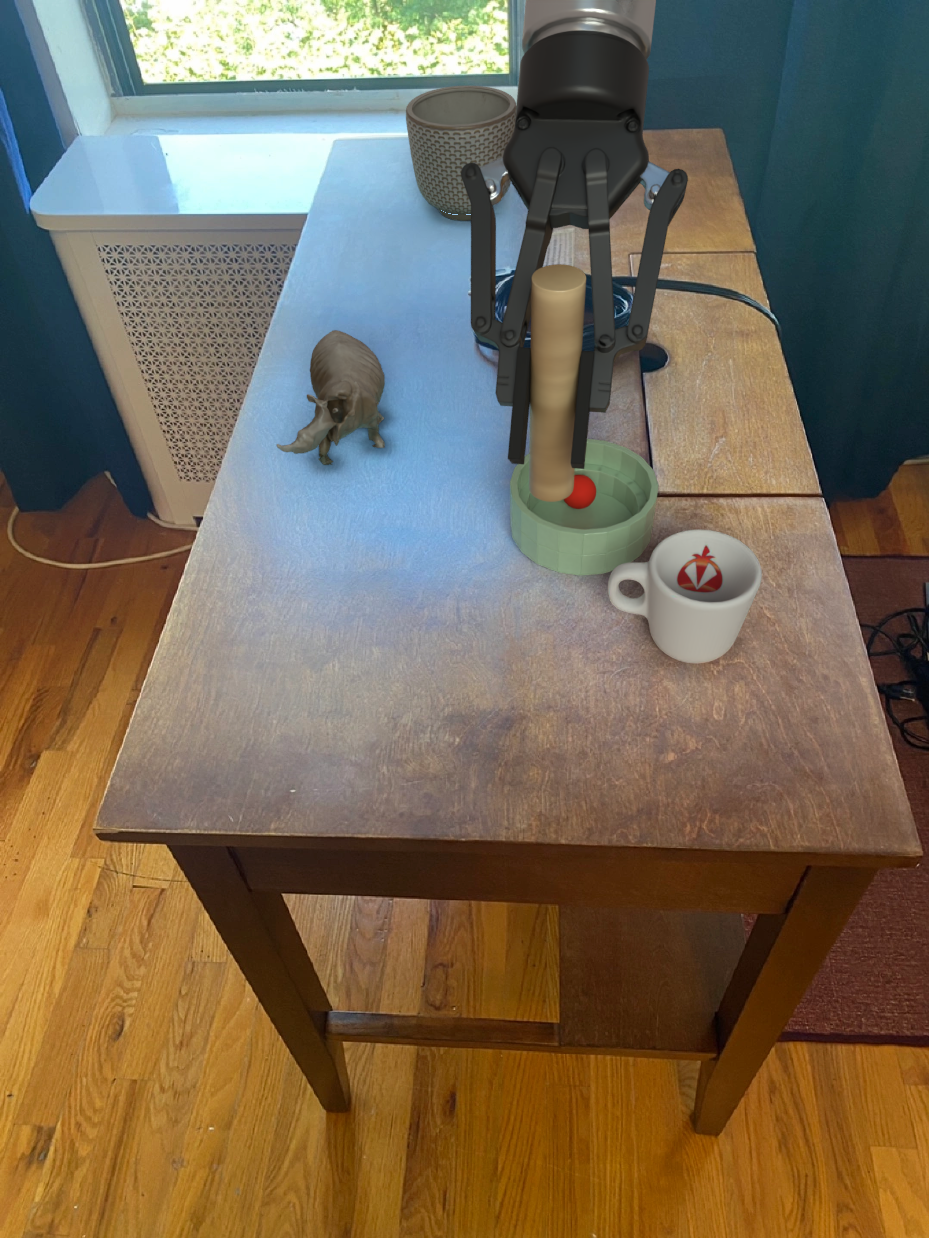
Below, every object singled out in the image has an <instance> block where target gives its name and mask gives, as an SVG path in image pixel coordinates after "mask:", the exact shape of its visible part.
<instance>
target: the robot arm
mask: <svg viewBox="0 0 929 1238" xmlns="http://www.w3.org/2000/svg"><path fill="white" fill-rule="evenodd" d="M656 4H657V0H525V4H524V15H523V28H522V40H521V49H522V52H523V56H522V57H521V59H520V64H519V70H518V71H519V72H518V85H517V94H516V116H515V127H514V132H513V135H512V137H511V139H510V141H509V142H508V144H507V145H506V147H505V149H504V153H503V157H502V158H499V159H497V160H495V161H493V162H490V163H488V164H486V165H484V166H481V167H479V166H478V165H477V164H475V163H467V164H466V165H465V166H464V167H463V168H462V171H461V178H462V180H463V183H464V186H465V189H466V192H467V194H468V197H469V200H470V203H471V220H470V328H472V331H473V333H474V334H475V336H476V338H477V339H478V341H480V342H481V343H487V344H488V345H491V346H493V347H495V348H496V349H498V359H497V360H498V362H497V371H496V384H495V396H496V400H497V403H498V404H499V405H500V406H501V407H511V418H510V427H509V439H508V450H507V460H508V461H509V462H510V463H511V464H513V465H518V464H524V460H525V456H526V448H527V440H528V439H527V437H528V426H529V418H530V355H531V347H526V346H525V342H526V338H527V334H528V329H529V325H530V323H531V279H532V275H533V273H534V272H535V271H536V270H538V269H540V268H542V267H544V263H545V260H546V256H547V252H548V248H549V246H550V243H551V241H552V236H553V232H554V229H560V228H564V227H567V226H572V227H576V228H579V229H581V230H588V244H589V245H588V247H589V261H590V262H589V265H590V283H591V284H590V285H591V305H592V319H593V320H592V322H593V340H594V346H593V350H582V351H581V359H580V369H579V380H578V390H577V401H576V411H575V421H574V432H573V442H572V452H571V467H572V468H578V469H584V466H585V456H586V446H587V439H588V434H589V425H590V413H602V414H605V413H607V411H608V409H609V407H610V404H611V394H612V384H613V375H614V374H613V373H614V364H615V362H616V360H617V358H618V357H620V356H621V355H623V354H626V353H630V352H638V351H641V350H643V349H644V348H645V346H646V343H647V341H648V340H647V339H648V334H649V330H650V325H651V324H650V323H651V318H652V313H653V307H654V304H655V303H654V302H655V298H656V292H657V287H658V282H659V277H660V271H661V266H662V261H663V255H664V251H665V246H666V240H667V234H668V229H669V226H670V224H671V223H672V221H673V219H674V218H675V215H676V214H677V212H678V210H679V208H680V207H681V206H682V203H683V201H684V199H685V196H686V191H687V186H688V183H689V176H688V173H687V172H686V171H685V170H684V169H681V168H674V169H672V170H671V171H668V170H666V169H664V168H663V167H661V166H659V165H657V164H655V163H653V162H651V161H650V154H649V150H648V148H647V146H646V144H645V141H644V125H645V116H646V115H645V114H646V105H647V95H648V86H649V75H650V74H649V73H650V65H649V61H648V59H649V57H650V55H651V50H652V42H653V32H654V23H655V15H656V13H655V12H656ZM509 179H510V181H511V184H512V186H513V187H514V189H515V191H516V193H517V195H518V196H519V197H520V200H521V201H522V203H523V204H524V206H525V208H526V210H527V214H526V219H525V227H524V232H523V237H522V241H521V244H520V248H519V252H518V258H517V262H516V266H515V269H514V273H513V278H512V282H511V286H510V290H509V295H508V299H507V303H506V307H505V311H504V315H503V319H502V321H500V320H498V319H496V317H497V315H496V314H497V313H496V312H497V311H496V310H497V309H496V308H497V307H496V306H497V305H496V303H497V302H496V301H497V300H496V299H497V297H496V295H497V289H496V288H497V219H496V213H495V209H494V206H496V205H498V204H499V203H500V202H501V201H502V199H503V198H502V196H503V193H502V188H503V185H504V183H505V182H506V181H507V180H509ZM640 185H641V186H642V187H643V188H644V193H643V205H644V207H645V208H646V209H647V210H648V211H649V213H648V217H647V222H646V227H645V234H644V238H643V243H642V247H641V248H642V249H641V252H640V253H641V254H640V259H639V264H638V270H637V275H636V281H635V286H634V292H633V296H632V302H631V306H630V311H629V318H628V323H627V325H624V326H621V327H617V328H616V323H615V322H616V321H615V303H614V302H615V301H614V282H613V265H612V245H611V222H610V220H611V219H612V218H613V216H614V215H615V214H616V213H617V212H618V210H619V209H620V208H621V207H622V206H623V204H624V203H625V202H626V201H627V200H628V198H630V196H632V193H634V191H635V190H636V189H637V188H638V186H640ZM524 346H525V347H524Z"/></svg>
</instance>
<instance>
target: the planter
mask: <svg viewBox="0 0 929 1238" xmlns="http://www.w3.org/2000/svg"><path fill="white" fill-rule="evenodd" d="M516 105H517V101H516V100H515V98H514V97H513V96H512V94H509V93H508V92H506V91H504V90H501V89H498V88H496V87H495V88H494V87H490V86H483V85H454V86H452V85H451V86H446V87H445V86H444V87H441V88H435V89H432V90H429V91H425V92H423V93H420V94H419V95H417V96H415V97H414V98H413V99H411V100H410V101H409V102H408V104H407V105H406V107H405V108H406V110H405V123H406V130H407V131H406V132H407V136H408V144H409V151H410V156H411V162H412V169H413V172H414V177H415V182H416V185H417V189H418V190H419V192H420V194H421V196H422V198H423V199H424V200H425V201H426V202H427V203H428V204H429V205H430V206H432V207H434V208H435V209H437V210H438V211H439V213H440V214H441V215H442V216H443V217H445V218H446V219H449V220H453V221H462V222H464V221H465V222H466V221H467V222H468V221H471V215H466V214H471V203H470V200H469V197H468V194H467V192H466V189H465V186H464V183H463V180H462V178H461V171H462V168H463V167H464V166H465V165H466V164H467V163H475V164H477V165H478V166H479V167H481V166H484V165H486V164H488V163H490V162H493V161H495V160H497V159H499V158H502V157H503V153H504V149H505V147H506V145H507V144H508V142H509V141H510V139H511V137H512V135H513V132H514V127H515V116H516ZM511 184H512V182H511V181H510V179H509V180H507V181H506V182H505V183H504V185H503V188H502V193H503V196H502V199H503V198H504V197H505V196H506V194H507V193H508V191H509V189H510V186H511ZM441 210H442V211H441ZM443 211H444V212H443ZM445 212H446V213H445ZM448 213H451V214H448ZM452 214H458V215H452Z"/></svg>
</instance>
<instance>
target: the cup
mask: <svg viewBox="0 0 929 1238" xmlns="http://www.w3.org/2000/svg"><path fill="white" fill-rule="evenodd" d="M649 557H650V558H649V561H645V562H641V561H640V562H638V561H637V562H636V561H632V562H629V563H624V564H620V565H618V566H617V567H616V568H614V570H613V571H610V572H611V573H610V575H609V577H608V582H607V595H608V600H609V601H610V603H611V605H613V607H614V608H616V609H617V610H619V611H621V612H624V613H628V614H632V615H633V614H634V615H640V616H642V617H644V618H646V619H647V622H648V628H649V632H650V633H649V634H650V636H651V638H652V640H653V642H654V643H655V645H656V647H657V648H658V649H659V650H660V651H662V653H664V654H665V655H666V656H668V657H669V658H672V659H673V660H676V661H679V662H682V663H687V664H704V663H711V662H712V661H715V660H717V659H719V658H721V657H723V656H724V655H725V654H727V653H728V651H729V650H730V649H731V648H732V646H733V645H734V644H735V642H736V640H737V638H738V636H739V634H740V631H741V629H742V627H743V625H744V623H745V621H746V618H747V616H748V613H749V611H750V609H751V607H752V604H753V602H754V600H755V598H756V597H757V596H756V595H757V594H758V592H759V589H760V587H761V584H762V579H763V572H762V571H763V570H762V566H761V563H760V561H759V559H758V557H757V555H756V554H755V552H754V551H753V550H752V549H751V548H750V546H748V545H747V544H745V543H744V542H743V541H741V540H740V539H738V538H736V537H734V536H732V535H729V534H727V533H724V532H722V531H716V530H711V529H701V528H699V529H698V528H697V529H688V530H687V529H686V530H682V531H681V530H680V531H679V532H676V533H673V534H671V535H669V536H667V537H665V538H664V539H663V540H661V541H660V542H659V543H658V544H656V546H655V548H654V549H653V551H652V552H651V554H650V556H649ZM628 580H632V581H635V582H636V583H638V584H640V585H641V587H642V588H643V591H644V592H643V593H642V594H641V595H640V596H637V597H629V596H626V595H624V594H623V593H622V592H621V590H620V586H619V585H620V583H622V582H623V581H628Z"/></svg>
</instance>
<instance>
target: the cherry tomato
mask: <svg viewBox="0 0 929 1238" xmlns="http://www.w3.org/2000/svg"><path fill="white" fill-rule="evenodd" d="M595 497H596V486H595V484H594V482H593V481H592V480H591V479H590V478H589V477H587V476H585V475H574V488H573V492H572V493H571V494H570V496H568V497H567V498H565V499H564V501H565V503H566V504H567V505H568V506H570V507H572V508H575V509H583V508H586V507H588V506H589V505H591V504H592V502H593V501H594V499H595Z"/></svg>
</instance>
